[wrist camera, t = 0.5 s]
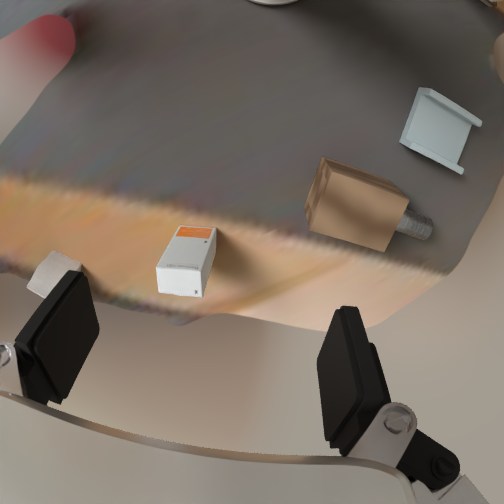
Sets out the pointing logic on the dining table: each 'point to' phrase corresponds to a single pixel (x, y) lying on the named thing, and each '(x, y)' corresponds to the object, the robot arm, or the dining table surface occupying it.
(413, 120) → the cradle
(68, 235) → the dining table surface
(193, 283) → the skincare box
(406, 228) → the axle
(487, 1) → the spiral staircase model
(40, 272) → the light grey block
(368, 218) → the hollow wooden box
